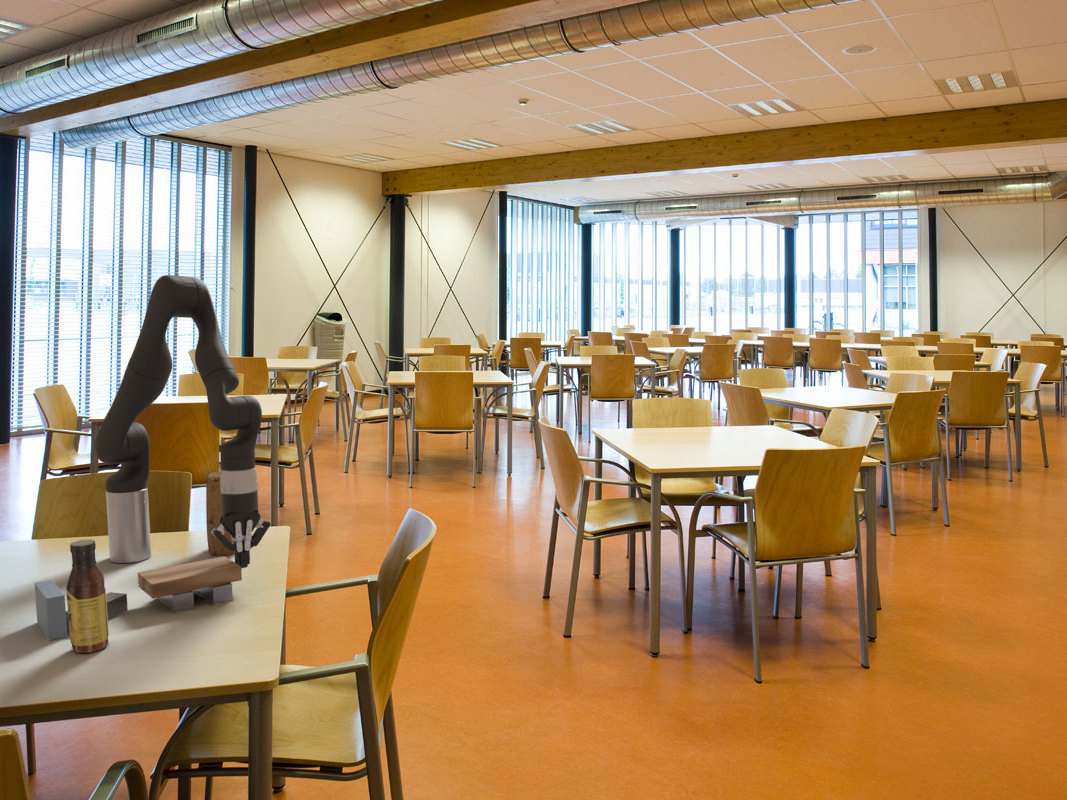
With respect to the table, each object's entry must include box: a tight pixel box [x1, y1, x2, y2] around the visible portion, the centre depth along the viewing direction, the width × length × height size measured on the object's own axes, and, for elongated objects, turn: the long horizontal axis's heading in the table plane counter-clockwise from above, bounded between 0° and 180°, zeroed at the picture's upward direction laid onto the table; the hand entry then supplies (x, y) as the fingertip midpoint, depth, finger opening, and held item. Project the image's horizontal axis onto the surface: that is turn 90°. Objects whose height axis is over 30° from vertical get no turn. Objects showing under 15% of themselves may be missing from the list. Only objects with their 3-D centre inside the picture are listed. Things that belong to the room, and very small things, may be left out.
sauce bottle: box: [65, 538, 110, 654], centre depth 158 cm, size 7×6×20 cm
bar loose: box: [66, 591, 129, 631], centre depth 173 cm, size 12×4×4 cm, turn 164°
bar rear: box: [193, 582, 234, 606], centre depth 187 cm, size 12×4×4 cm, turn 42°
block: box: [205, 470, 234, 556], centre depth 221 cm, size 11×8×20 cm
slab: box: [137, 555, 243, 600], centre depth 184 cm, size 10×18×3 cm, turn 129°
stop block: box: [34, 579, 68, 641], centre depth 168 cm, size 12×3×8 cm, turn 39°
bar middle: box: [158, 591, 195, 614], centre depth 183 cm, size 12×4×4 cm, turn 37°
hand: (242, 567), depth 191 cm, fingers closed
